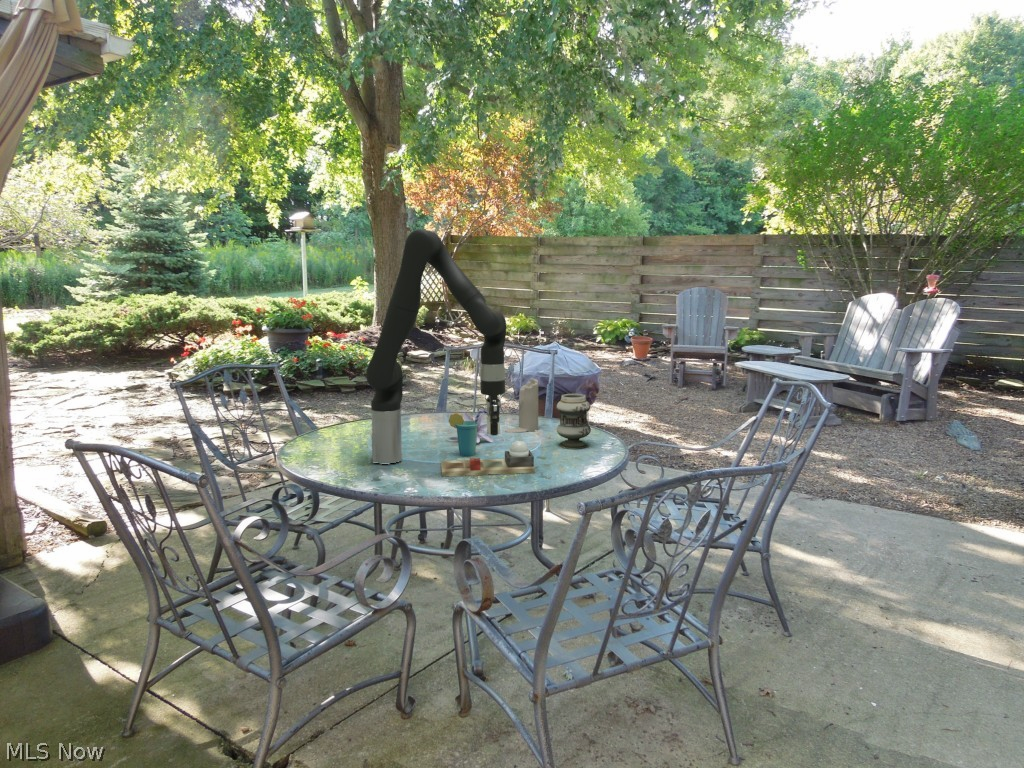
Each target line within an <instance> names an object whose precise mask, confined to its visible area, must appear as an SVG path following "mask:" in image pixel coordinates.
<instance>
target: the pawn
mask: <svg viewBox="0 0 1024 768" xmlns="http://www.w3.org/2000/svg"><path fill="white" fill-rule="evenodd" d="M488 416H489V415H487V417H486V424H487V430H486V434H487V435H489V436H492V435H491V433H490V416H489V417H488ZM494 418H496V416H493V419H494ZM500 434H501V417H500V416H499V422H498V435H500Z"/></svg>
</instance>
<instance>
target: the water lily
mask: <svg viewBox="0 0 1024 768" xmlns="http://www.w3.org/2000/svg"><path fill="white" fill-rule="evenodd" d="M477 414H478V412H477V413H476V414H475V416H474V418H473V417H472V416H471V415H469V414H468V413H467V412H463V415H462V416H463V419H464V421H474V422H475V419H476V416H477ZM484 419H485V413H480V415H479V418H478V421H477V423H479V424H478V427H477V439H476V444H479V443H480V441H481V439H482V440H485V441H487V442H489V443H494V439H493V438H492V437H491V435H489V434H487V433H485V431H486V432H487V423H485V424H483V422H484Z"/></svg>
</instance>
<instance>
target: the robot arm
mask: <svg viewBox="0 0 1024 768" xmlns="http://www.w3.org/2000/svg"><path fill="white" fill-rule="evenodd" d="M427 264H429V265H430V266H431V267H433V269H435V270H436V272H437V274H439V275H440V276H441V278H442V279H443V281H444V283H445V285H446V287H447V288H448V290H449V292H450V294H451V295H452V296H453V298H454V300H456V301H457V303H458V304H459V305H460V306H461V307H462V309H463V310H464V311H465V312H466V313H467V315H468V317H469V318H470V320H471V322H472V323H473V325H474V327H475V328H476V329H477V330H478V332H479V333H481V334H482V335H483V336H484V341H483V345H482V346H481V349H480V372H479V373H480V374H479V376H480V377H479V379H480V384H479V385H480V394H481V395H483V396H487V398H486V399H485V404H486V411H487V413H488V414H487V413H486V414H487V417H489V416H490V433H491V435H490V436H498V435H499V434H498V422H499V417H500V413H501V412H500V407H501V401H500V398H499V396H502V395H504V394H506V369H505V351H504V350H505V349H504V348H505V342H506V337H507V321H506V318H505V316H504V315H503V313H500V312H498V311H492V310H491V308H490V307H489V306H488V304H487V303H486V298H485V297H484V295H483V293H482V292H481V291H480V290H479V289H478V288H477V287H476V285H474V283H473V282H472V280H470V279H469V277H468V276H467V275H466V274H465V273H464V271H463V270H462V269H461V268H460V267H459V266H458V264H457V262H456V261H455V260H454V258H453V257H452V256H451V254H450V252H449V251H448V249H447V247H446V246H445V244H444V242H443V241H442V239H441V238H440V236H439V235H438V234H437V233H435V232H434V231H431V230H428V229H423V228H421V229H420V228H417V229H415V230H413V231H411V232H410V233H409V234H408V236H407V237H406V240H405V244H404V248H403V253H402V258H401V263H400V268H399V272H398V274H397V279H396V281H395V284H394V288H393V291H392V293H391V297H390V299H389V303H388V306H387V308H386V309H387V310H386V313H385V317H384V320H383V324H382V328H381V330H380V334H379V338H378V341H377V343H376V346H375V349H374V351H373V353H372V356H371V358H370V360H369V363H368V366H367V368H366V373H365V377H366V381H367V383H368V385H369V387H371V388H372V389H374V390H375V394H374V396H373V398H372V400H371V403H370V408H371V409H370V411H371V456H372V457H371V459H372V460H371V461H372V463H373V462H378V463H395V462H398V461H401V460H402V461H403V450H402V449H403V445H402V442H403V441H402V440H403V439H402V416H401V415H402V413H401V412H402V410H401V409H402V408H401V406H402V405H401V403H402V399H403V384H404V383H403V381H404V379H403V377H404V376H403V375H404V374H403V369H402V366H401V365H400V363H399V361H397V360H398V359H397V358H398V355H399V352H400V350H401V348H402V347H403V344H404V343H405V342H406V340H407V339H408V337H409V335H410V334H411V332H412V330H413V329H414V326H415V325H416V320H417V319H418V314H419V312H420V307H421V300H422V299H421V298H422V291H421V290H422V288H421V287H422V279H423V276H424V272H425V269H426V266H427ZM488 415H489V416H488ZM493 416H496V418H494V419H493ZM402 461H401V462H402Z"/></svg>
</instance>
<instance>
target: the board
mask: <svg viewBox="0 0 1024 768" xmlns="http://www.w3.org/2000/svg"><path fill="white" fill-rule="evenodd" d="M528 450H529V457H510V456H509V450H505V451H504V458H490V459H488V458H486V459H481V458H480V457H470V458H469V459H464V460H463V459H459V460H440V469H441V477H442V476H449V477H468V475H471V476H489V475H488V474H499V475H517V474H516V473H524V474H535V473H536V468H535V461H534V460H535V457H534V454H533V453H532V451H531V450H530V449H528ZM465 475H467V476H465Z"/></svg>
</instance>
